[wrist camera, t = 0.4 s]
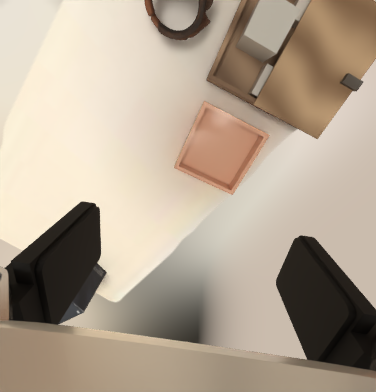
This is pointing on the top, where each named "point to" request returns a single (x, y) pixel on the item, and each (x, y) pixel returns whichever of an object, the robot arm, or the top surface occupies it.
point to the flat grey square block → (260, 80)
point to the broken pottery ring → (190, 32)
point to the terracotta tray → (220, 148)
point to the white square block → (302, 4)
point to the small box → (85, 294)
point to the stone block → (267, 28)
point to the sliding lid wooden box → (304, 62)
